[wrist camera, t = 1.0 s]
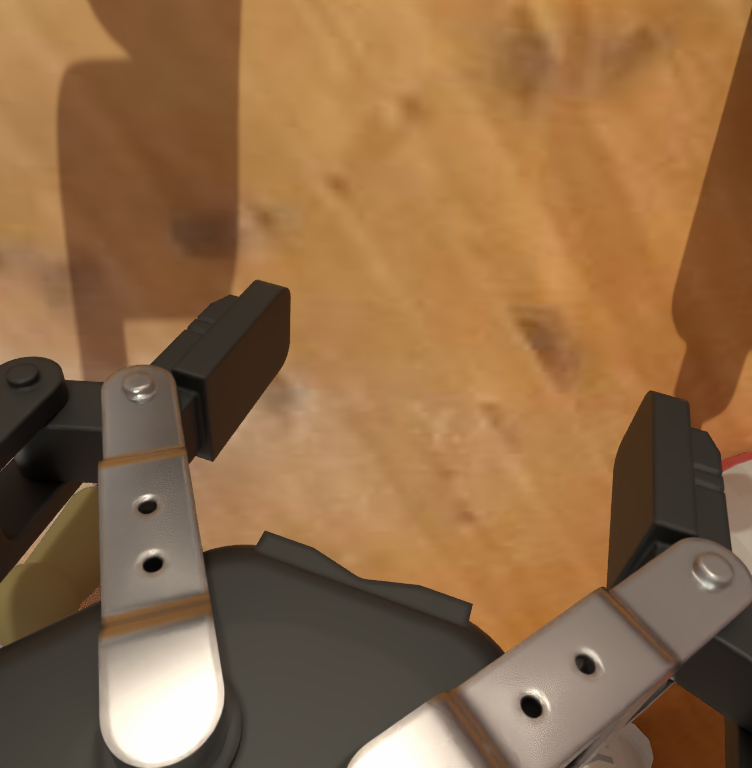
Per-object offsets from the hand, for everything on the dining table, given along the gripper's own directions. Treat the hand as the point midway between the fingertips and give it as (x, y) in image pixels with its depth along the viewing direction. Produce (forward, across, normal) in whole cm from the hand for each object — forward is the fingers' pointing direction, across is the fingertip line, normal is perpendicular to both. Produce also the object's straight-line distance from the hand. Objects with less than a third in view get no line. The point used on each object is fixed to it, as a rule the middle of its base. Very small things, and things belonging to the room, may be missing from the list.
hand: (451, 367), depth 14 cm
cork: (+11, +23, +31) cm, 40 cm away
